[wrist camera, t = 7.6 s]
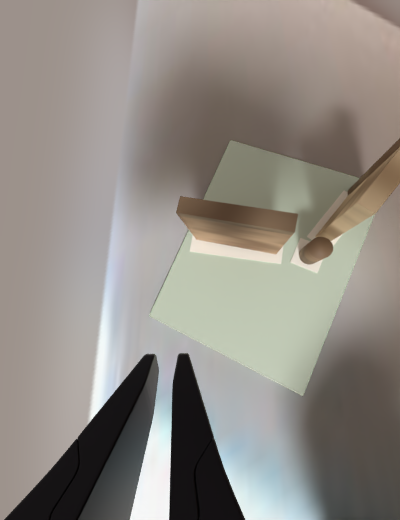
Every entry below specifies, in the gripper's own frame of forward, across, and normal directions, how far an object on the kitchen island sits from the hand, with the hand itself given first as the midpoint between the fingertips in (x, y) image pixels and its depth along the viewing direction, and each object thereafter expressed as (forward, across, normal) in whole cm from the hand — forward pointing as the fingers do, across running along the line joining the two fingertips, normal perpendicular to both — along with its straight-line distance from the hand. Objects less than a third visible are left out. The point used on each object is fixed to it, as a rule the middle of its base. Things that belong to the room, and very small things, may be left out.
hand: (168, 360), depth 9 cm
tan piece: (+15, -14, 0) cm, 20 cm away
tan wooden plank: (+15, -4, +1) cm, 16 cm away
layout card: (+15, -7, +2) cm, 16 cm away
